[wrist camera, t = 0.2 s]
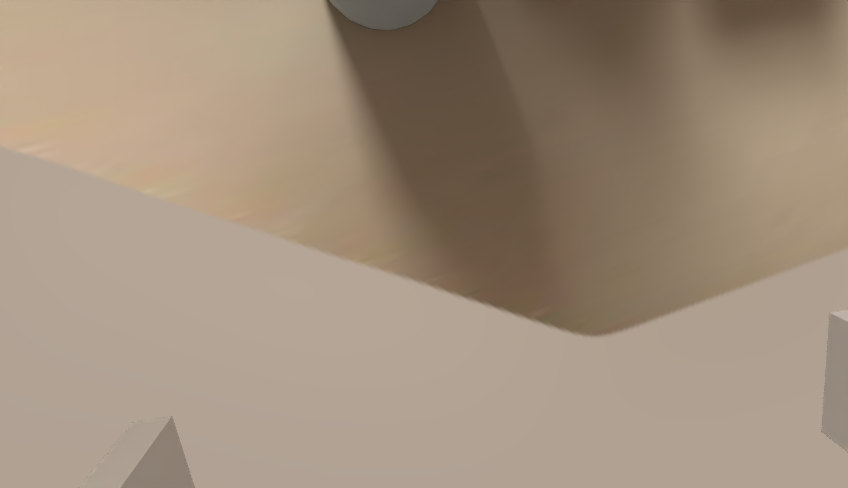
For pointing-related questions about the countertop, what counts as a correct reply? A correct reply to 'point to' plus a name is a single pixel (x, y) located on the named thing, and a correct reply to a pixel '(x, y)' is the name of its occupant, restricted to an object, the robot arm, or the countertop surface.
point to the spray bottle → (384, 12)
